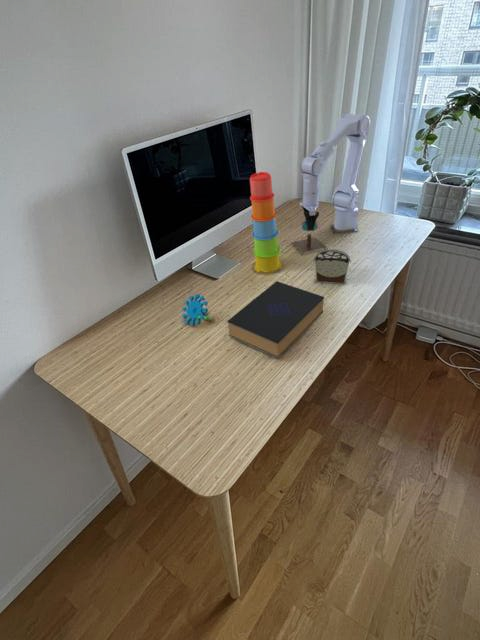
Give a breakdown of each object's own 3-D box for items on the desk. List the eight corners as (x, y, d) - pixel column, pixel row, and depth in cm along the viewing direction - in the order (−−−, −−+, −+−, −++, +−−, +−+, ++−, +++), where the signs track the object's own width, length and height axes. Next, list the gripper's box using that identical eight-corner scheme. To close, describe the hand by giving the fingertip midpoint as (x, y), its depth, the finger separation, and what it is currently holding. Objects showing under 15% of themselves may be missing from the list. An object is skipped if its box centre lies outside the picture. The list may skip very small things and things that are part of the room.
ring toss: (314, 239, 159) (315, 227, 156) (326, 249, 151) (326, 237, 148) (292, 244, 157) (292, 232, 154) (303, 254, 149) (303, 242, 146)
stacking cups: (282, 273, 139) (281, 177, 118) (254, 275, 140) (248, 180, 119) (280, 259, 147) (278, 167, 126) (253, 261, 148) (247, 170, 127)
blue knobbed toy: (175, 313, 122) (192, 287, 120) (187, 317, 126) (203, 292, 125) (195, 333, 115) (212, 305, 114) (207, 336, 120) (224, 310, 119)
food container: (349, 275, 135) (352, 249, 129) (348, 284, 130) (351, 258, 124) (314, 272, 138) (315, 247, 132) (312, 281, 133) (313, 256, 127)
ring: (316, 224, 151) (316, 219, 150) (317, 230, 147) (318, 225, 146) (301, 225, 152) (301, 220, 150) (303, 231, 147) (303, 226, 146)
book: (229, 338, 112) (227, 320, 108) (276, 297, 127) (276, 280, 123) (278, 361, 103) (277, 342, 99) (323, 314, 118) (324, 296, 114)
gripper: (298, 185, 146) (297, 219, 155) (301, 199, 135) (301, 234, 143) (316, 184, 146) (315, 218, 154) (321, 197, 134) (320, 233, 143)
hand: (309, 225), depth 149 cm, fingers closed on ring, 5 cm apart
